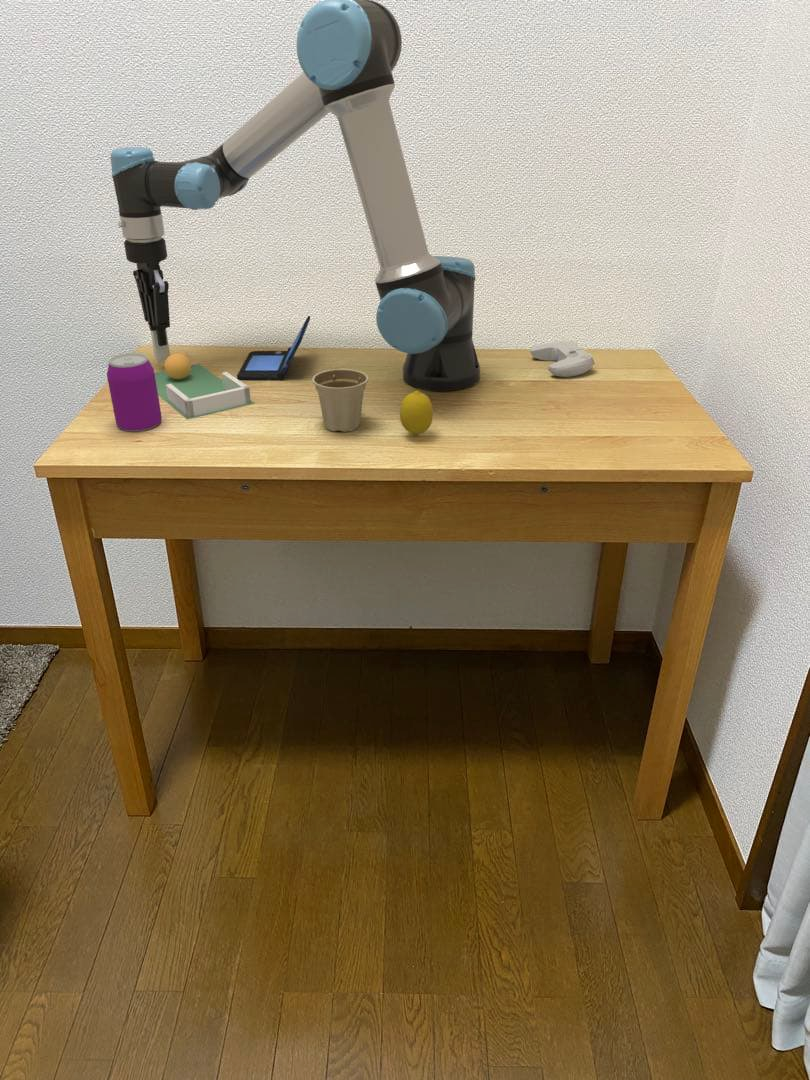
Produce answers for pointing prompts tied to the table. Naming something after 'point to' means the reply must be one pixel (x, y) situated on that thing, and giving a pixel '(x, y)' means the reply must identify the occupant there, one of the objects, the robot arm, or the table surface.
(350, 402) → the flower pot
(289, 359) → the handheld game console
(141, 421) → the beverage can
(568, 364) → the game controller
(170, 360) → the orange ball
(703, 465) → the table surface
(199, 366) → the putting mat
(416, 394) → the lemon
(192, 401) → the white u-shaped frame
